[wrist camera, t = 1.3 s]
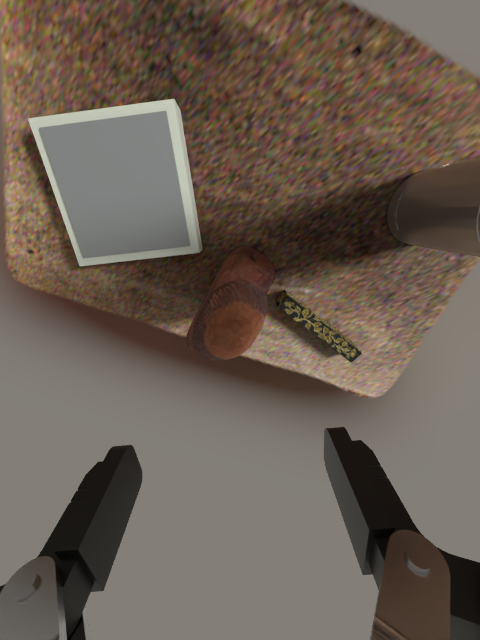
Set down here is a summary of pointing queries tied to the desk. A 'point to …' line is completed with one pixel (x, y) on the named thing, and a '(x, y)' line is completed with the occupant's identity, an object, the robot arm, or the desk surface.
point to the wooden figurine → (233, 306)
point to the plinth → (121, 181)
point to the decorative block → (317, 326)
